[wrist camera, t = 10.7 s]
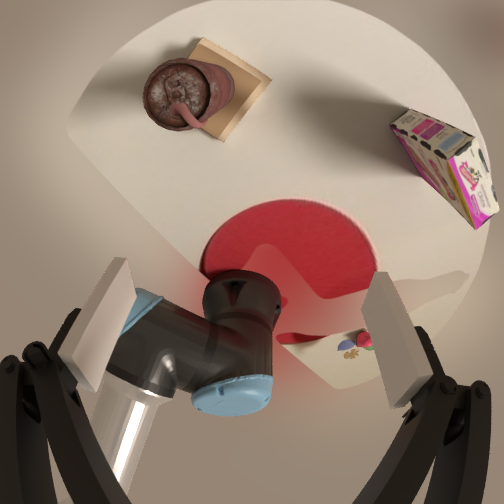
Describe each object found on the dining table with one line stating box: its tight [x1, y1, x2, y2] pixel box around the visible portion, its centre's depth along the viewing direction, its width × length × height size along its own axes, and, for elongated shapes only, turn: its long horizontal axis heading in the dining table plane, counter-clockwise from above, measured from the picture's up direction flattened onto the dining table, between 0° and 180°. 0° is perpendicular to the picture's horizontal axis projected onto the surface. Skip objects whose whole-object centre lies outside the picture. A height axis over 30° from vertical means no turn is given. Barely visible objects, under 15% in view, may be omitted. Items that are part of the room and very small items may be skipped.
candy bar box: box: [390, 109, 499, 230], centre depth 30 cm, size 11×5×16 cm, turn 45°
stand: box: [187, 37, 272, 143], centre depth 32 cm, size 11×11×5 cm
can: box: [143, 58, 235, 131], centre depth 24 cm, size 6×6×14 cm
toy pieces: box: [337, 331, 374, 359], centre depth 62 cm, size 12×11×4 cm
